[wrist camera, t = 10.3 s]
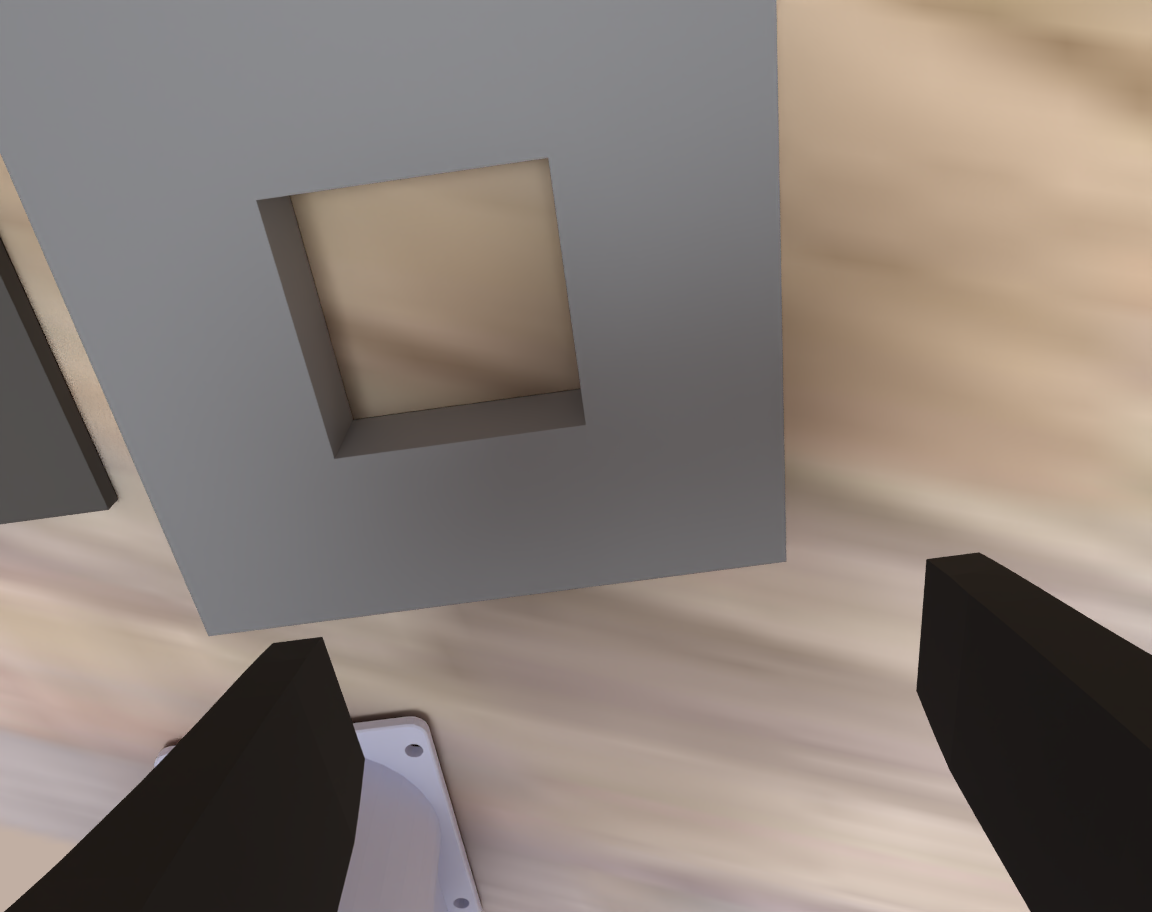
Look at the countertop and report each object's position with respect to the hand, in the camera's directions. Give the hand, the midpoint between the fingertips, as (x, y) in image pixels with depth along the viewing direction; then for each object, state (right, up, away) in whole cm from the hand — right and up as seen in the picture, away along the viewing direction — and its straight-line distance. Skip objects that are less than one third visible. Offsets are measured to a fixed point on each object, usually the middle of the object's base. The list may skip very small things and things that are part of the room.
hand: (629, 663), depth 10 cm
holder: (-4, +6, +8) cm, 11 cm away
